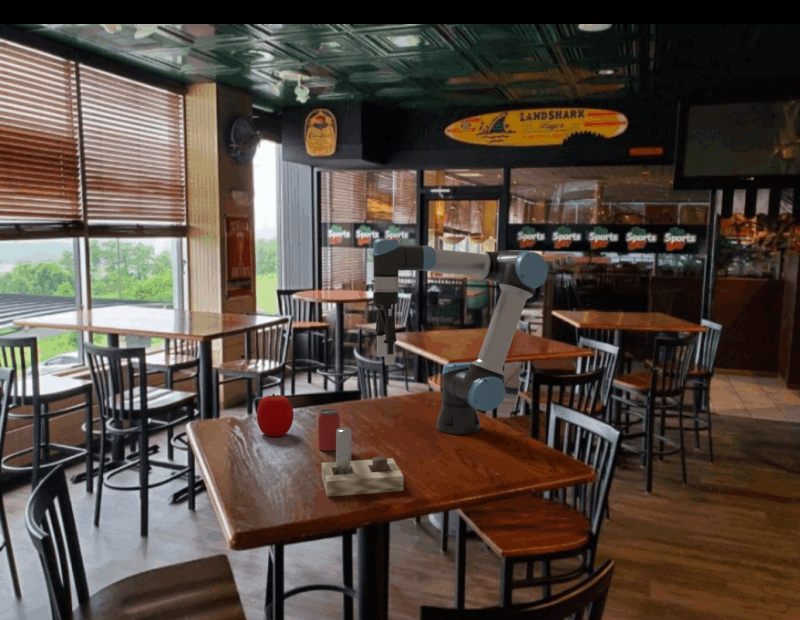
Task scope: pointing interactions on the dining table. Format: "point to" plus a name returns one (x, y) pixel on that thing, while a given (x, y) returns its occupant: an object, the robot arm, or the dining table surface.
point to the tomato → (274, 415)
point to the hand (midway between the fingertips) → (385, 360)
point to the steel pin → (343, 451)
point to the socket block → (363, 477)
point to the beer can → (328, 429)
